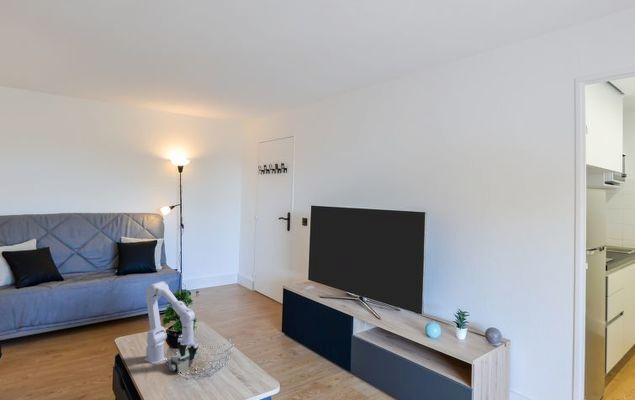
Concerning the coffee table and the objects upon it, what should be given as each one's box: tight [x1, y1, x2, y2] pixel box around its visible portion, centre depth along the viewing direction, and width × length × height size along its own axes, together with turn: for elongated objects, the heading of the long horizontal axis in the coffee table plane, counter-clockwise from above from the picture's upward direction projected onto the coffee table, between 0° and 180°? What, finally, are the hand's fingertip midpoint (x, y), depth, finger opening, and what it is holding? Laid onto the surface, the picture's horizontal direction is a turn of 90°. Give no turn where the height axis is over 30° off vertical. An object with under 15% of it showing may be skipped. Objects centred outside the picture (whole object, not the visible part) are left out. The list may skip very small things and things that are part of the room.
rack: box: [167, 350, 201, 363], centre depth 202 cm, size 8×15×2 cm, turn 148°
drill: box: [170, 356, 194, 372], centre depth 191 cm, size 11×5×5 cm, turn 148°
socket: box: [168, 356, 190, 374], centre depth 190 cm, size 8×6×6 cm
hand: (187, 357), depth 194 cm, fingers open, 7 cm apart
